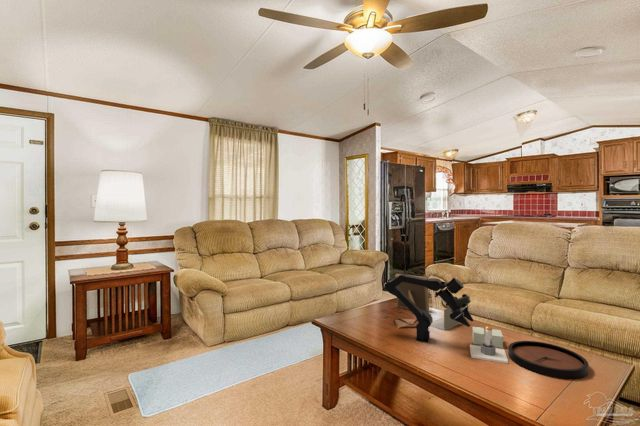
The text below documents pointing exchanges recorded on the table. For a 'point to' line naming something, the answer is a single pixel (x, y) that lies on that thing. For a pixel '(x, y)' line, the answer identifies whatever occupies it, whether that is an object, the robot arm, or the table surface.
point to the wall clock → (548, 360)
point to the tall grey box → (414, 294)
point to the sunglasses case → (405, 323)
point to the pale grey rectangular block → (445, 321)
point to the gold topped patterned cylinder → (488, 336)
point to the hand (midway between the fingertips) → (471, 323)
